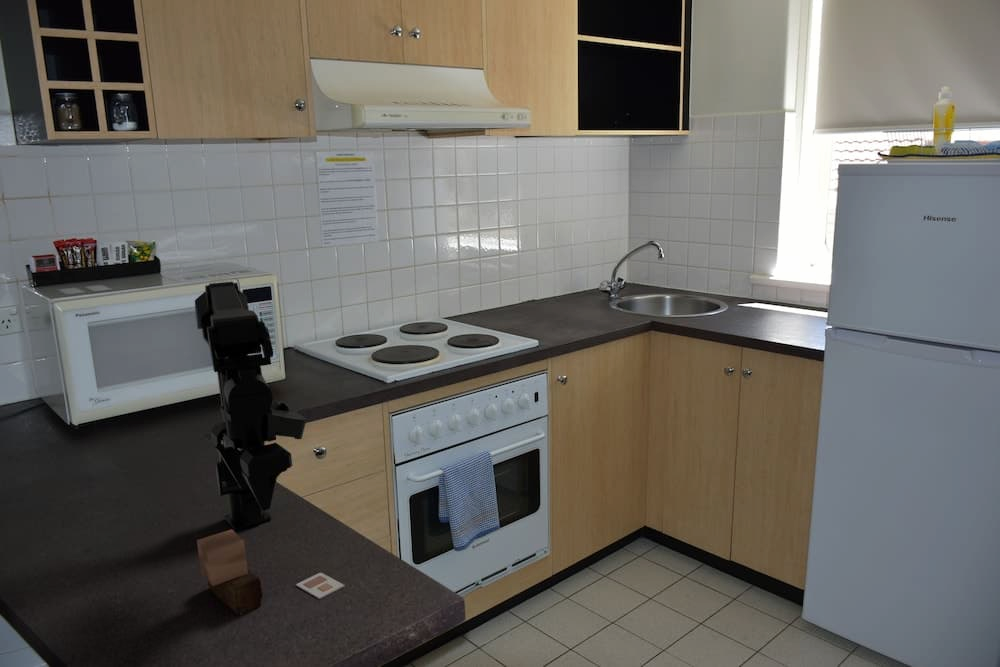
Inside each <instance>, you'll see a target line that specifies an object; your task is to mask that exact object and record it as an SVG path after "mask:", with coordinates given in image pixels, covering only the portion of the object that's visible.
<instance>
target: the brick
mask: <svg viewBox="0 0 1000 667" xmlns="http://www.w3.org/2000/svg"><path fill="white" fill-rule="evenodd" d="M247 570H248V574H246V575H243V576H240V577H237V578H234V579H231V580H228V581H225V582H223V583H220V584H217V585H214V586H212V585H211V584H210V583H209V581H208V580H207V585H208V587H209V589H210V590H211V591H212V592H213V594H214V595H215V594H216V595H217V598H218V597H219V598H220V599H221V600H222V601H221V600H220V599H219V598H218V599H219V600H220V601H221V602H223V603H224V604H225V605H226V604H227V605H228V606H229V607H230V608H231V609H232V610H233V611H234V612H233V613H234V614H236V615H237V614H238V615H240V614H242V613H244V614H246V613H245V612H247V613H249V612H251V611H253V610H252V609H254V610H256V609H259V608H260V607H261V606H262V604H261V602H262V599H263V594H264V593H263V590H262V582H261V579H260V578H259V576H258V575H257V574H256V573H254V572H253V571H252V570H251V569H249V568H248V567H247ZM216 595H215V596H216ZM227 605H226V606H227ZM228 606H227V607H228ZM229 607H228V608H229ZM258 607H259V608H258ZM230 608H229V609H230ZM231 609H230V610H231ZM232 610H231V611H232ZM250 610H251V611H250ZM248 611H249V612H248ZM238 615H237V616H238ZM242 615H243V614H242ZM240 616H241V615H240Z"/></svg>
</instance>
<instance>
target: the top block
mask: <svg viewBox="0 0 1000 667" xmlns="http://www.w3.org/2000/svg"><path fill="white" fill-rule="evenodd" d="M196 544H197V545H196V546H197V551H198V559H199V567H200V572H201V575H203V576H204V578H205V579H206V580H207V582H208V581H209V583H210V584H211V585H212V586H214V585H217V584H220V583H223V582H225V581H228V580H231V579H234V578H237V577H240V576H243V575H246V574H248V570H247V568H248V564H247V562H248V561H247V556H246V546H245V541H244V539H243V538H242V537H241V536H239V535H238V533H236V531H235V530H234V529H232V528H231V529H229V530H225V531H222V532H219V533H216V534H212V535H209V536H206V537H203V538H200V539H196Z"/></svg>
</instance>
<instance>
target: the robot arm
mask: <svg viewBox="0 0 1000 667" xmlns="http://www.w3.org/2000/svg"><path fill="white" fill-rule="evenodd" d="M204 287H205V288H204V289H205V291H204V292H203V293H201V294H200V295H199V296H197V297H196V298H195V300H194V312H195V319H196V320H195V321H196V326H197V330H201V332H202V338H203V341H205V343H206V344H207V345H208V347H209V353H210V358H211V362H212V369H213V371H214V373H216V375H217V380H218V388H219V395H220V404H221V406H220V409H219V410H220V414H221V415H222V419H223V422H219V423H216V424H214V425H213V427H212V428H211V429H210V432H209V433H210V440H211V443H212V444H213V445H214V448H215V450H216V451H217V453H218V457H219V458H218V459H219V461H216V462H215V469H216V471H215V472H216V473H215V474H216V480H217V488H218V491H219V495H220V497H223V496H226V495H227V501H228V510H229V514H225V515H224V516H223V519H224V521H226V522H227V524H228V525H230V526H231V527H232V528H233V530H234V531H239V530H242V529H245V528H246V529H247V528H249V527H251V526H254V525H258V524H261V523H264V522H267V521H270V520H272V516H271V514H269V513H268V512H267V510H270V509H271V505H272V500H273V495H274V491H275V487H276V486H275V485H276V483H277V479H278V477H279V476H280V475H281V474H282V473H284V472H286V471H288V469H291V467H293V460H292V458H293V457H292V453H291V452H290V451H288V450H287V449H286V448H285V447H283V446H282V445H280V444H279V443H277V442H273V441H276V440H277V436H279V437H285V438H286V437H287V438H294V439H295V440H302V438H303V435H304V432H305V427H306V423H307V418H306V417H305V416H303V415H301V414H300V413H298V412H295V411H294V410H290V409H289V405H288V404H287V403H285V402H283V401H273V393H272V391H271V388H270V386H269V385H268V383H267V381H266V380H265V378H264V376H263V371H262V367H263V366H270V365H272V359H271V357H272V358H273V357H274V348H273V345H272V341H271V336H270V331H269V328H268V327H267V326H266V322H264V320H259V316H258V314H257V313H256V312H255V311H254V310H251V309H249V304H248V298H247V295H246V293H244V292H242V291H240V289H239V284H238V282H233V281H223V282H211V283H209V284H207V285H205V286H204ZM266 442H273V443H269V444H265V443H266Z"/></svg>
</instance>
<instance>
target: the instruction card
mask: <svg viewBox="0 0 1000 667" xmlns="http://www.w3.org/2000/svg"><path fill="white" fill-rule="evenodd" d="M295 586H296V587H297V588H299V589H301V590H303V591H304V592H305V593H307V594H309V595H311V596H313V597H315V598H316V599H319V600H321V599H323V598H325V597H327V596H328V595H330V594H333V593H335V592H336V591H338V590H340V589H342V588H345V587H346V586H345V584H344V583H341V582H339V581H337V580H335V579H334V578H332V577H330V576H328V575H326V574H325V573H323V572H319V573H317V574H315V575H311V576H310V577H308V578H306V579H304V580H302V581H300V582H298V583H296V584H295Z"/></svg>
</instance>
